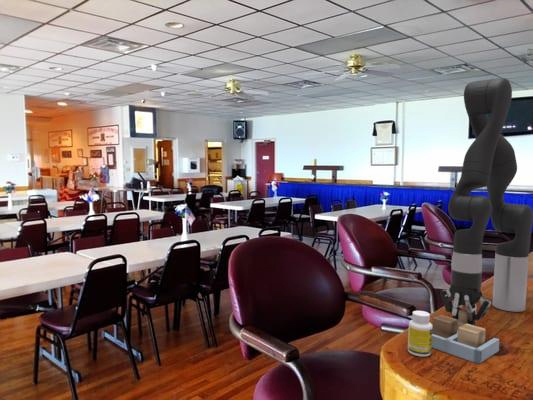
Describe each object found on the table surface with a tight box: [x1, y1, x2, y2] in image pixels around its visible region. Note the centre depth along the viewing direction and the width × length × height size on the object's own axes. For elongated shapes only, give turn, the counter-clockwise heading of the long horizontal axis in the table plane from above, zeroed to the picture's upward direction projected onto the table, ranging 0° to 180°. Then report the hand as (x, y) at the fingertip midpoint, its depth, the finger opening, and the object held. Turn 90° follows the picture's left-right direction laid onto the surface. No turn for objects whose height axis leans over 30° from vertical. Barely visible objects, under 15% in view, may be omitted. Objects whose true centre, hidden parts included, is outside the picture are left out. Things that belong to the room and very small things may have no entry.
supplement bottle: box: [407, 310, 433, 358], centre depth 105 cm, size 5×5×10 cm
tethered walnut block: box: [432, 308, 469, 338], centre depth 115 cm, size 14×5×6 cm, turn 130°
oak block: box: [457, 324, 487, 348], centre depth 106 cm, size 5×5×6 cm
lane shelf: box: [431, 323, 500, 365], centre depth 109 cm, size 11×16×3 cm
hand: (463, 330), depth 119 cm, fingers closed on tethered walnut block, 3 cm apart
